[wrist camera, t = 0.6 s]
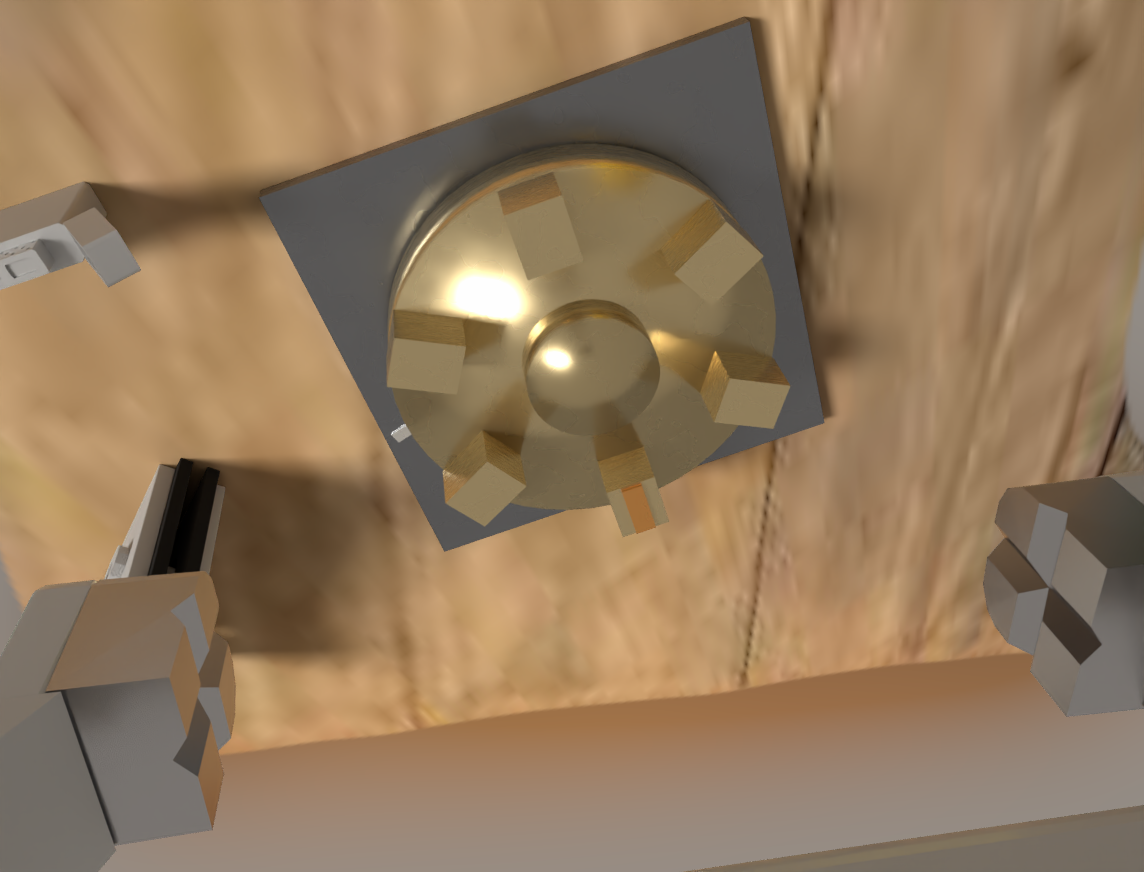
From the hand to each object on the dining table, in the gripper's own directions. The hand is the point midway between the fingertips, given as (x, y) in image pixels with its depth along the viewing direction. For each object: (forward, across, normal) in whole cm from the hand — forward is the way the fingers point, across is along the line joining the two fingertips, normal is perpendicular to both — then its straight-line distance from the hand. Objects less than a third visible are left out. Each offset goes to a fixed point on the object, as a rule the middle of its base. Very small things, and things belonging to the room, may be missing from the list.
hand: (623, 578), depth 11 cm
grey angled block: (+37, +16, +5) cm, 41 cm away
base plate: (+38, -5, +13) cm, 41 cm away
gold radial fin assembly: (+38, -5, +13) cm, 41 cm away
